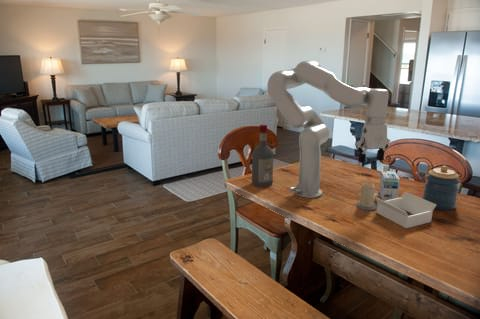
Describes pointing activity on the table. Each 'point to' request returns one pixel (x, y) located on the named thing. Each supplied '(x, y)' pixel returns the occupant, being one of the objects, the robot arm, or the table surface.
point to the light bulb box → (389, 185)
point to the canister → (442, 188)
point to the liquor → (262, 161)
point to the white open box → (408, 203)
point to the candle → (367, 194)
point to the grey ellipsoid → (366, 207)
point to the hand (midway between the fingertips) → (370, 161)
